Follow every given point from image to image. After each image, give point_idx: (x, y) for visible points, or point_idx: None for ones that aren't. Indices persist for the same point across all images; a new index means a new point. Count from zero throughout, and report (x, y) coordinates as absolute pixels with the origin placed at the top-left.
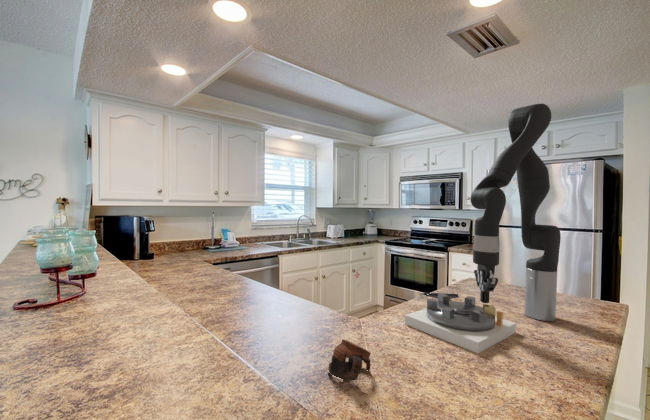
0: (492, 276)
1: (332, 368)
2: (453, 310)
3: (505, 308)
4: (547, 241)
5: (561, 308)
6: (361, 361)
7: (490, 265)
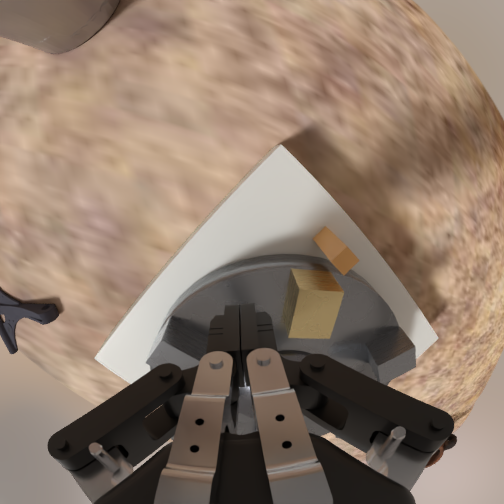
0: (419, 471)
1: None
2: None
3: (14, 112)
4: None
5: None
6: (454, 442)
7: None
